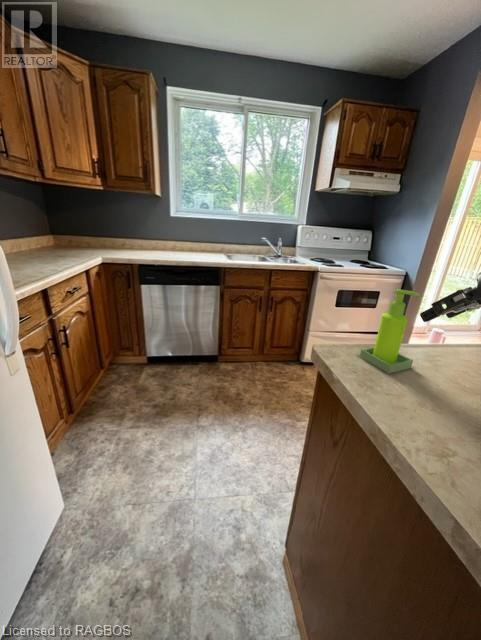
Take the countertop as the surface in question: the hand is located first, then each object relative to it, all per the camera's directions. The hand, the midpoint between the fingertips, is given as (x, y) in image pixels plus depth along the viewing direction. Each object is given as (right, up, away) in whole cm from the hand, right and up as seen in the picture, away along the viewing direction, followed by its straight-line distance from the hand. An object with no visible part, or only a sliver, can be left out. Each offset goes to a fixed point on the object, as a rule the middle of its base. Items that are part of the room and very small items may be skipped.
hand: (434, 316), depth 61 cm
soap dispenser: (-4, -12, +13) cm, 19 cm away
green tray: (-4, -13, +13) cm, 19 cm away
